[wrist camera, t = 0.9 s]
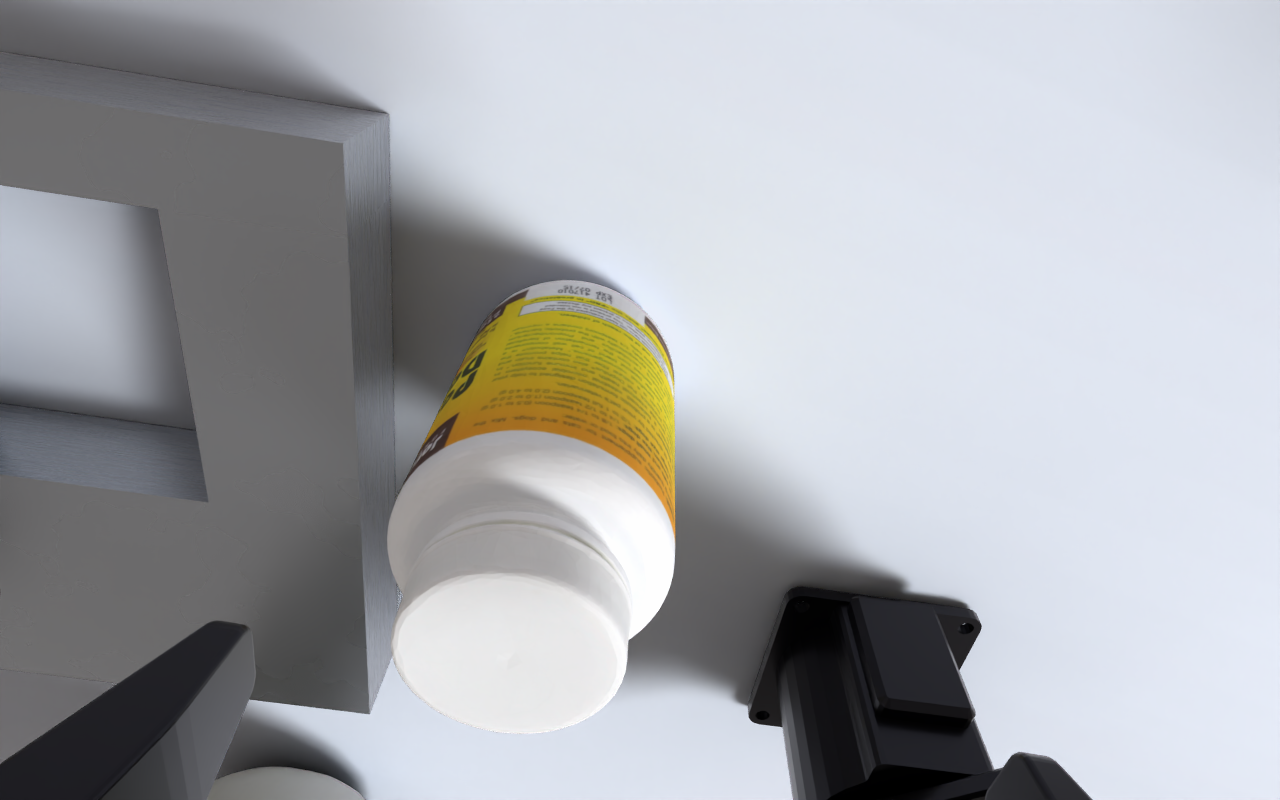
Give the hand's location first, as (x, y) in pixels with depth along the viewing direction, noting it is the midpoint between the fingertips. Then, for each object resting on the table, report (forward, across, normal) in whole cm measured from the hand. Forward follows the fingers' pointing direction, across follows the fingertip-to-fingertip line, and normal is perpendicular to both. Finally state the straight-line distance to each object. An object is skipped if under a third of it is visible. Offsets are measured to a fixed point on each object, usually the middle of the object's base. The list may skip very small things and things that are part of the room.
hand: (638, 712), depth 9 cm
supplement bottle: (+13, +2, +3) cm, 14 cm away
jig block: (+13, +15, +6) cm, 21 cm away
